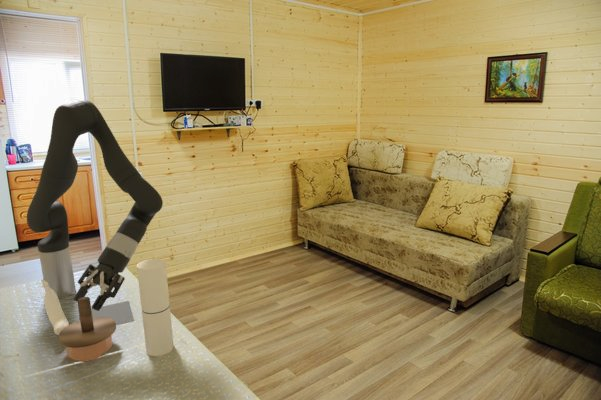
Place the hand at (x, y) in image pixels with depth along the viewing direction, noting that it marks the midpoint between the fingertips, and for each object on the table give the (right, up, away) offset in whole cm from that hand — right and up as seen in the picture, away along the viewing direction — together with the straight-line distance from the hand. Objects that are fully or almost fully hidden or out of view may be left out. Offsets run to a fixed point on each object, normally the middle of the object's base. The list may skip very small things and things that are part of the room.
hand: (85, 305), depth 112 cm
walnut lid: (0, -8, +2) cm, 8 cm away
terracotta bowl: (0, -13, +3) cm, 13 cm away
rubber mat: (-3, -9, +19) cm, 22 cm away
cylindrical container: (+19, -13, +3) cm, 23 cm away
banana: (-14, -11, +12) cm, 22 cm away
